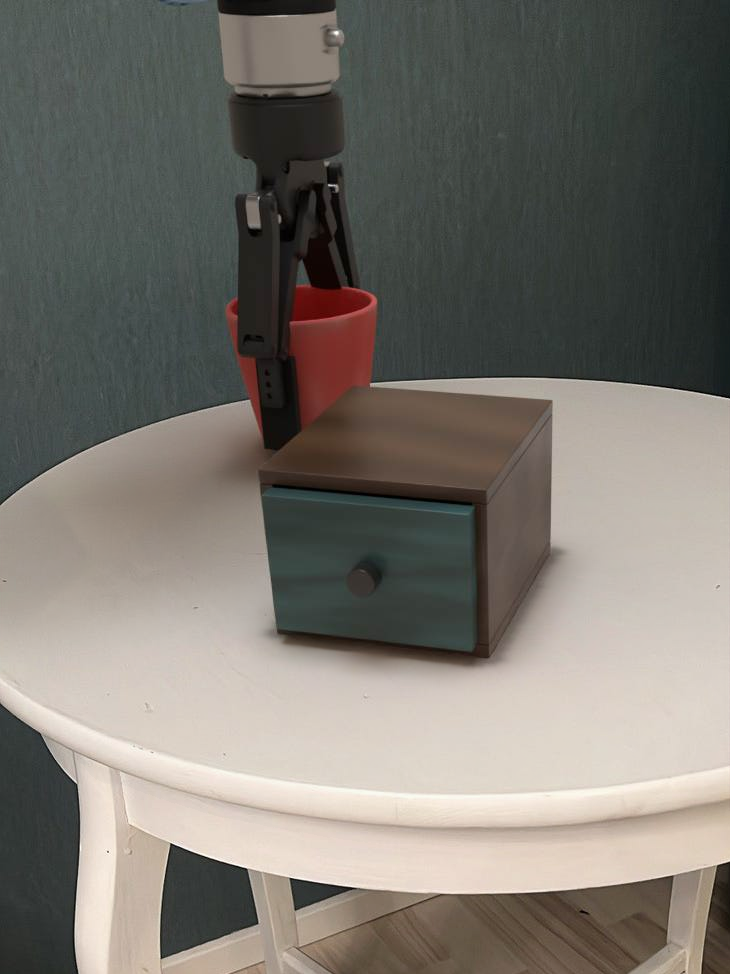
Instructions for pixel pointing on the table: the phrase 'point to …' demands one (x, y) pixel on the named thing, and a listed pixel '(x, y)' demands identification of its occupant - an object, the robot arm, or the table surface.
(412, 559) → the drawer
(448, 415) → the cabinet
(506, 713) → the table surface
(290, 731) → the table surface
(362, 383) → the flower pot
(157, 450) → the table surface
